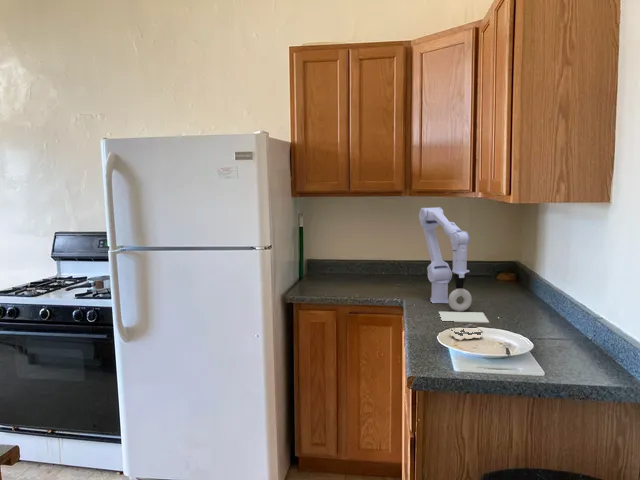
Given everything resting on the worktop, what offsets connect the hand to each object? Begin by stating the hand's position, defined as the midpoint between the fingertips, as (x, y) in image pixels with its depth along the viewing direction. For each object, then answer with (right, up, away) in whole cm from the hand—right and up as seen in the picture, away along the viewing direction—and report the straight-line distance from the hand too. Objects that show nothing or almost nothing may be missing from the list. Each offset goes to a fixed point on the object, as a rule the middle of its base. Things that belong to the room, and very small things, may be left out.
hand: (459, 291), depth 210 cm
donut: (0, -9, -2) cm, 9 cm away
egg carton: (-8, -13, -37) cm, 40 cm away
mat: (-2, -9, -12) cm, 15 cm away
